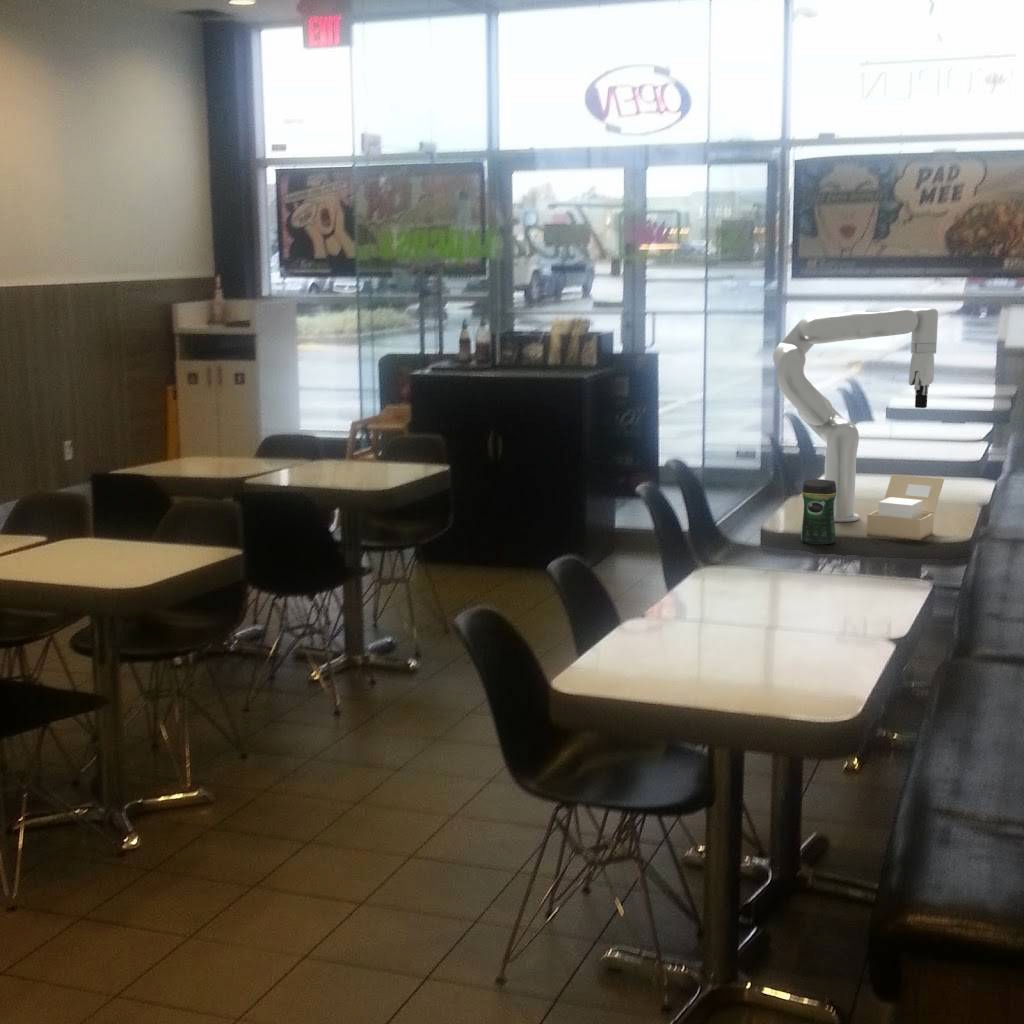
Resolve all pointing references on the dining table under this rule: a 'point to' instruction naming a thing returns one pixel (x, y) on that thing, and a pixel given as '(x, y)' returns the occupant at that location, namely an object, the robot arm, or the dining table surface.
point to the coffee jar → (818, 511)
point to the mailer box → (900, 519)
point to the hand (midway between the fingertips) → (920, 407)
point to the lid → (916, 490)
